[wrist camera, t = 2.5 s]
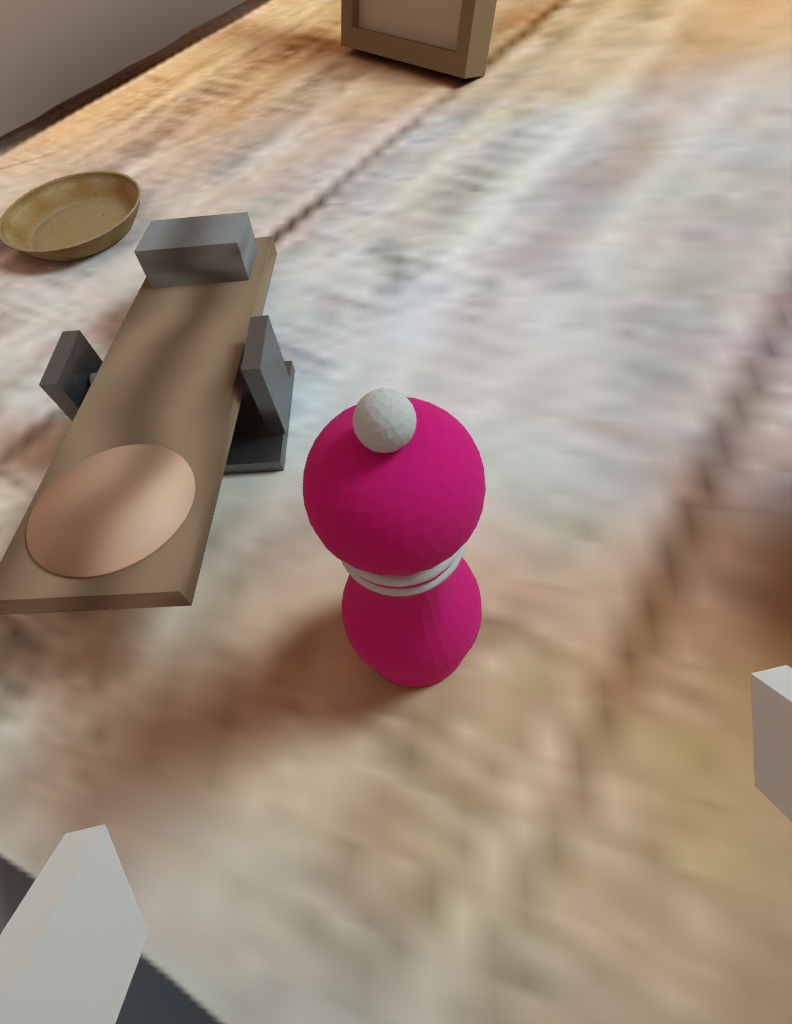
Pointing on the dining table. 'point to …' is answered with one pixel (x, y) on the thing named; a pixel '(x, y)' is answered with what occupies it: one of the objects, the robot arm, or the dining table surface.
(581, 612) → the dining table surface
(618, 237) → the dining table surface
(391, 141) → the dining table surface
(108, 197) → the plant saucer
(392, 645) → the pepper mill
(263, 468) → the pivot stand
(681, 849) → the dining table surface
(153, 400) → the balance plank
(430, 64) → the photo frame
